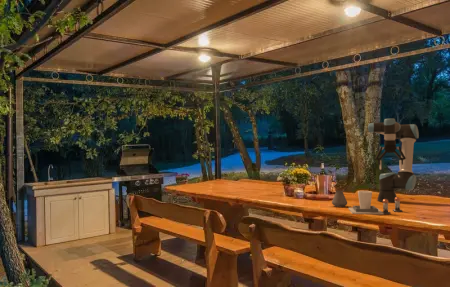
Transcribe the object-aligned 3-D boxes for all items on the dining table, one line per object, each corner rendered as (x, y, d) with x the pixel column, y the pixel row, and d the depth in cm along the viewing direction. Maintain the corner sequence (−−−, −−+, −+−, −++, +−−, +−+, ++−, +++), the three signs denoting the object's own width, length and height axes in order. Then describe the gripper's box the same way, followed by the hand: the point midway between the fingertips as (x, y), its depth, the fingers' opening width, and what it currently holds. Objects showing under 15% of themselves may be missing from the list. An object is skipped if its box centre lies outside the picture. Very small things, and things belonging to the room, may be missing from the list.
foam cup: (356, 210, 262) (356, 192, 262) (359, 208, 269) (359, 190, 269) (370, 211, 256) (370, 192, 256) (373, 209, 264) (373, 191, 264)
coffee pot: (342, 208, 279) (342, 187, 279) (328, 206, 287) (328, 186, 287) (356, 204, 294) (356, 185, 294) (342, 203, 302) (342, 184, 302)
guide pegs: (379, 213, 255) (378, 198, 255) (395, 210, 266) (395, 196, 266) (387, 214, 250) (386, 199, 250) (404, 211, 261) (403, 197, 261)
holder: (348, 208, 275) (348, 204, 275) (377, 209, 271) (377, 205, 271) (352, 214, 255) (352, 209, 255) (383, 214, 251) (383, 210, 251)
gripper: (372, 140, 270) (373, 169, 270) (410, 139, 265) (410, 169, 265) (370, 140, 277) (371, 169, 277) (406, 139, 273) (407, 168, 272)
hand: (390, 169), depth 271 cm, fingers open, 13 cm apart
